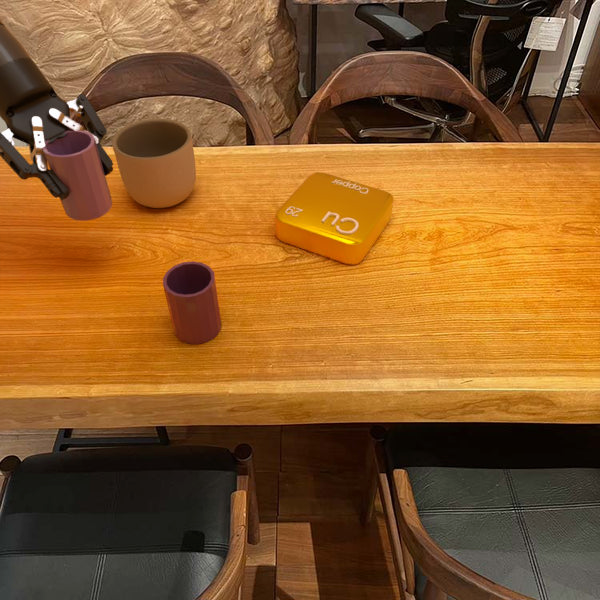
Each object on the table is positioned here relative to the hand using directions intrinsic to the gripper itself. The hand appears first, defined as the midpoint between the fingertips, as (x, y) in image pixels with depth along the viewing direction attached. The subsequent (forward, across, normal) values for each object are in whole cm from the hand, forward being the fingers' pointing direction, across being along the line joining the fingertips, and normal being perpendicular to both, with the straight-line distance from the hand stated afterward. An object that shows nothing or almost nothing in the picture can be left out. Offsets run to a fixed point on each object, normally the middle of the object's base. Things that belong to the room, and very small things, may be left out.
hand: (88, 184), depth 78 cm
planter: (+5, +17, +16) cm, 24 cm away
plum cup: (+24, -1, -3) cm, 24 cm away
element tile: (+25, +28, -4) cm, 38 cm away
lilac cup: (+2, 0, +4) cm, 5 cm away
